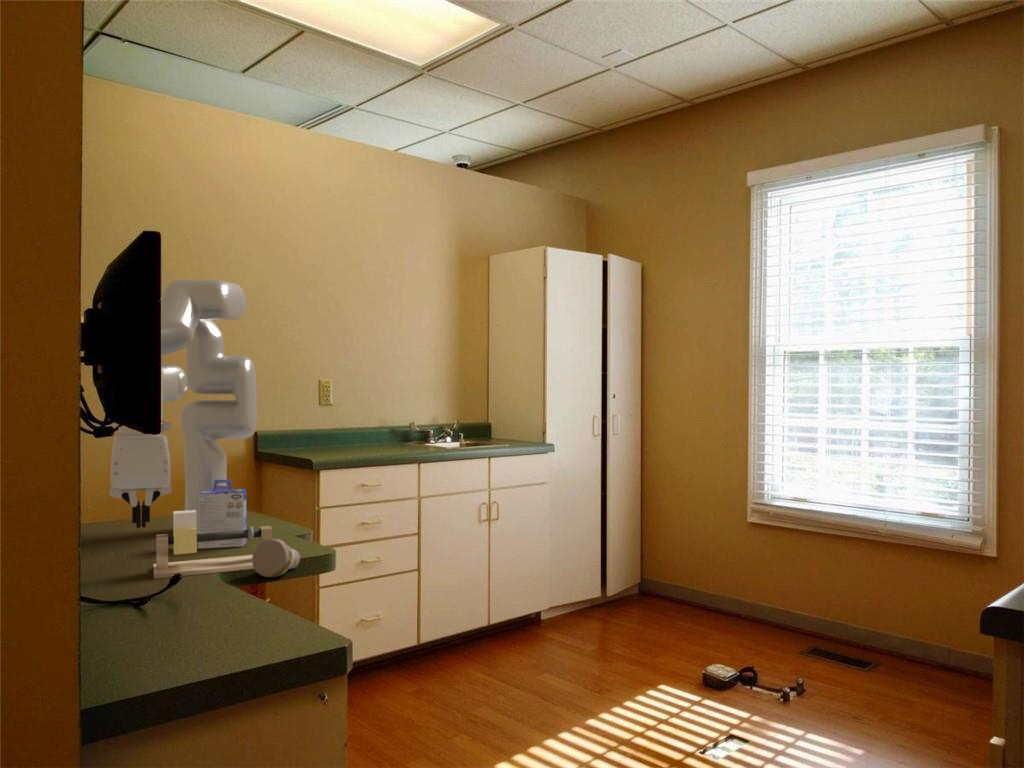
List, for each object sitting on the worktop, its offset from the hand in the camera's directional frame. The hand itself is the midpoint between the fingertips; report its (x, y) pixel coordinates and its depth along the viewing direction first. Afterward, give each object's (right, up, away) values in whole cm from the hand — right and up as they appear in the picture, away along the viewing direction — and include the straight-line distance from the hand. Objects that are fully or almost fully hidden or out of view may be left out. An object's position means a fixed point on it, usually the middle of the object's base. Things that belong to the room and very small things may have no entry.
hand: (141, 526), depth 144 cm
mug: (+25, -10, +2) cm, 27 cm away
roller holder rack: (+12, -9, +6) cm, 16 cm away
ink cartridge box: (+6, -9, +25) cm, 28 cm away
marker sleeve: (+7, -5, +4) cm, 9 cm away
